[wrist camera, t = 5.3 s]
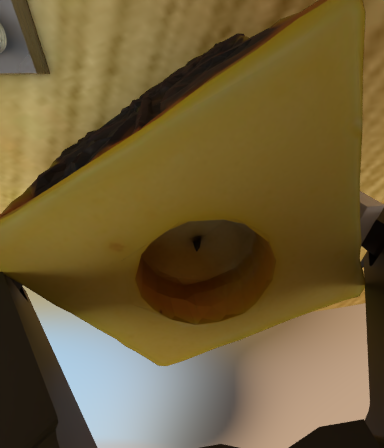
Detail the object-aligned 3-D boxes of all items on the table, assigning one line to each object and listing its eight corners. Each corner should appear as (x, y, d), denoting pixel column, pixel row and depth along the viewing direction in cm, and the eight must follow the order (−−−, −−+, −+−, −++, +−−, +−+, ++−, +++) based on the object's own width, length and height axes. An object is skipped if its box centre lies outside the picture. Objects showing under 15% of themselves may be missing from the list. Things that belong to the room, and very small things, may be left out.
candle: (222, 38, 11) (385, -67, 3) (272, 188, 17) (377, 294, 9) (73, 138, 13) (-73, 239, 5) (162, 243, 19) (163, 373, 10)
